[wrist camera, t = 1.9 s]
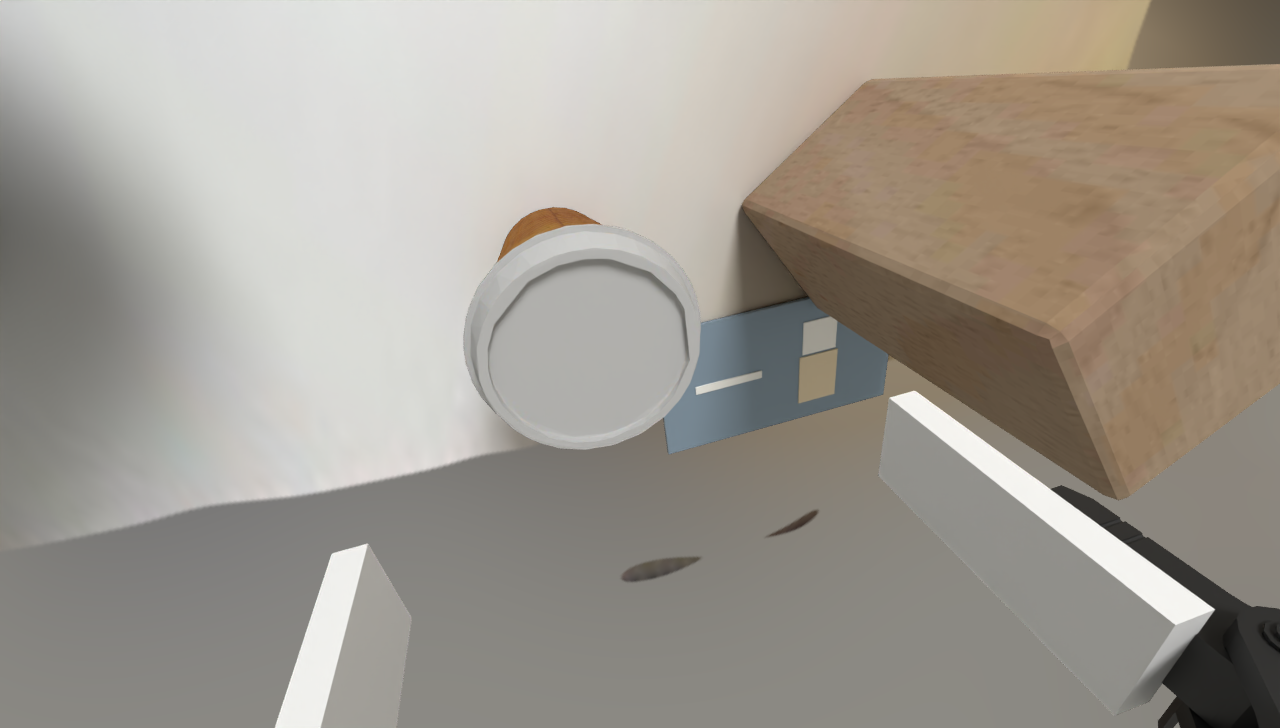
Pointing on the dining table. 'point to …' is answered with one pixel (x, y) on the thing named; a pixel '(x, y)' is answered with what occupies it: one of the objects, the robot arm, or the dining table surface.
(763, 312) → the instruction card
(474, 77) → the dining table surface
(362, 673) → the robot arm
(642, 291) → the disposable coffee cup
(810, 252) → the wooden block
